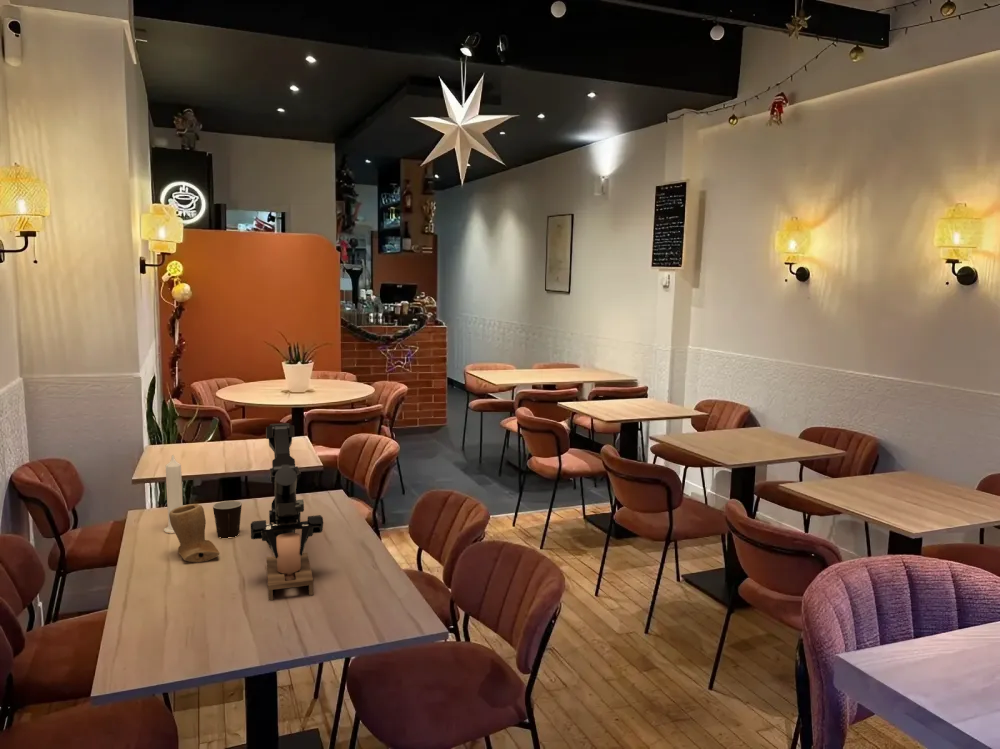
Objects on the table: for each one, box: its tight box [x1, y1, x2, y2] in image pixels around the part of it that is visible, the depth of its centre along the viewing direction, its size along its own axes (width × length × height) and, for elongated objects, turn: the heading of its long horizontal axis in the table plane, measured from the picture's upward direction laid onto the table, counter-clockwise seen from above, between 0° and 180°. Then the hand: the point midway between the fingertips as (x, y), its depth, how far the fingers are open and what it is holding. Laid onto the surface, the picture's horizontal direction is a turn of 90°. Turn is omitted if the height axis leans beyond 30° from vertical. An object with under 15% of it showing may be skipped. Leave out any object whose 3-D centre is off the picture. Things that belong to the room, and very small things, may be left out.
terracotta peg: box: [276, 532, 301, 581], centre depth 190 cm, size 6×6×12 cm
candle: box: [163, 454, 184, 533], centre depth 229 cm, size 7×7×25 cm
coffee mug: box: [212, 500, 242, 539], centre depth 225 cm, size 12×9×10 cm
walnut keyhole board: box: [266, 552, 314, 601], centre depth 191 cm, size 20×11×4 cm, turn 19°
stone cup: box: [169, 503, 220, 563], centre depth 209 cm, size 15×12×15 cm
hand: (288, 556), depth 188 cm, fingers closed on terracotta peg, 6 cm apart
